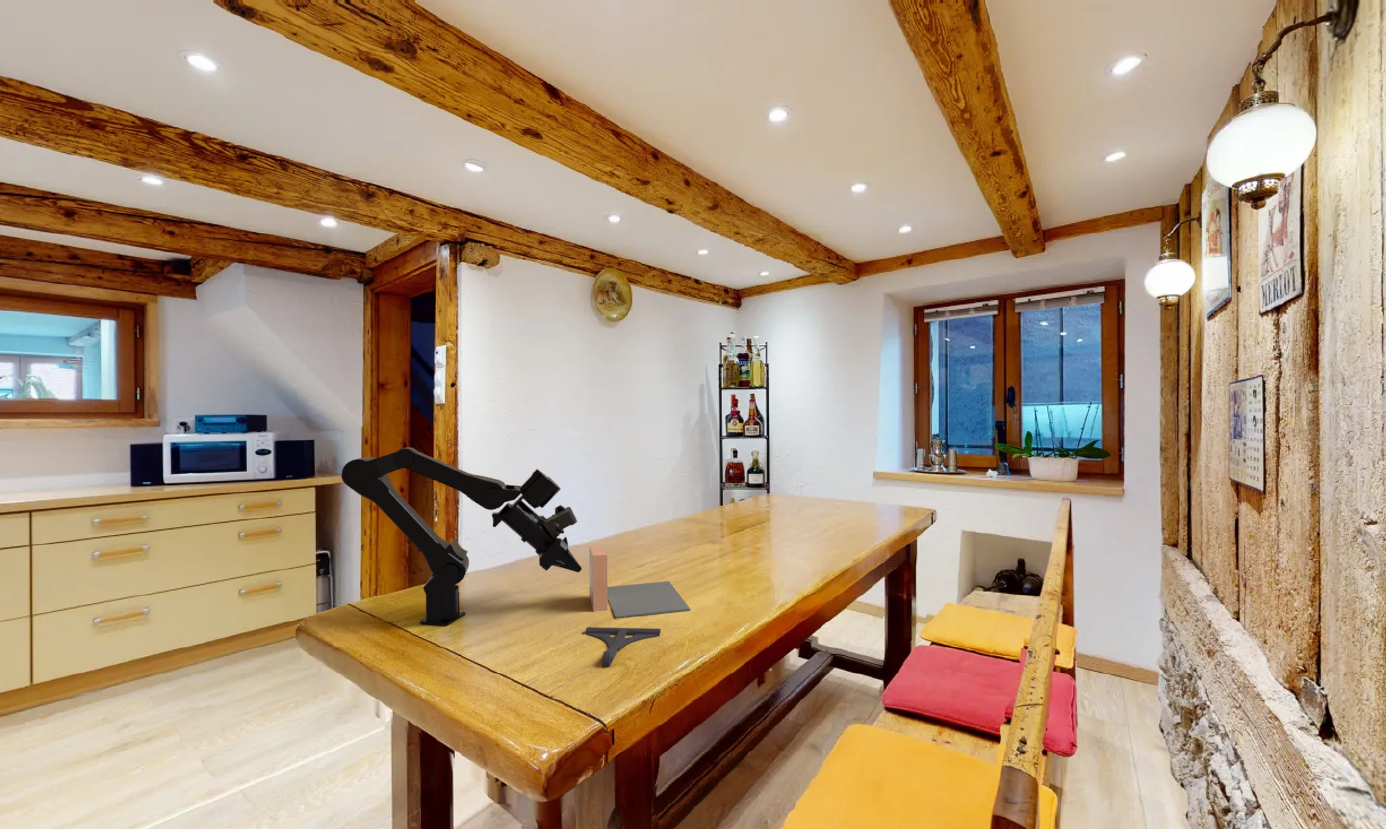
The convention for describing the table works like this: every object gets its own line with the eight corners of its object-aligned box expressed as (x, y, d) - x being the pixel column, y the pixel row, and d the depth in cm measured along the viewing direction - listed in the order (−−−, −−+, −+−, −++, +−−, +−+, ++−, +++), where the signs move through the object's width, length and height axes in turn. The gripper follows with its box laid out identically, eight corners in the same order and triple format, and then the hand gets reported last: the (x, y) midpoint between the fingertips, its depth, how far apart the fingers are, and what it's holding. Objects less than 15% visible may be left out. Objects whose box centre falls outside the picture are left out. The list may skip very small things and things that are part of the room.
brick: (593, 611, 119) (593, 555, 119) (589, 598, 128) (589, 546, 128) (607, 610, 120) (607, 554, 120) (603, 596, 128) (602, 545, 128)
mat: (615, 618, 115) (615, 616, 115) (604, 588, 134) (604, 587, 134) (690, 610, 119) (690, 608, 119) (668, 582, 138) (668, 581, 138)
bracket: (564, 670, 94) (563, 653, 94) (587, 634, 109) (587, 620, 109) (648, 673, 93) (648, 656, 93) (660, 636, 107) (660, 622, 107)
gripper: (555, 503, 112) (611, 552, 115) (553, 490, 130) (601, 533, 133) (515, 545, 110) (573, 594, 113) (518, 526, 128) (568, 569, 131)
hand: (580, 570), depth 123 cm, fingers closed
